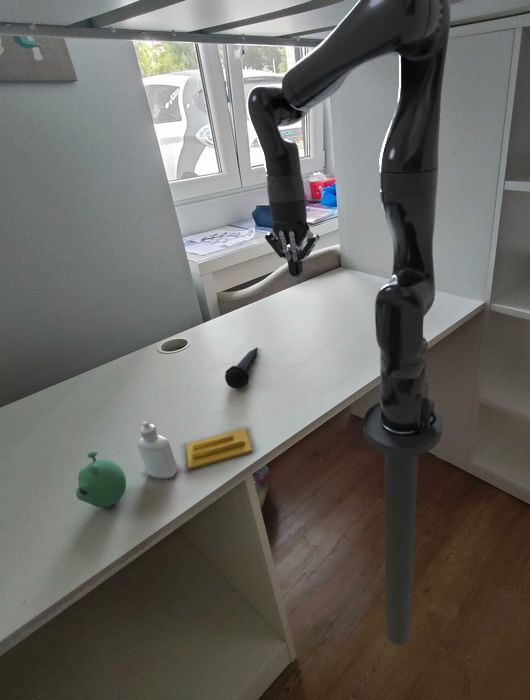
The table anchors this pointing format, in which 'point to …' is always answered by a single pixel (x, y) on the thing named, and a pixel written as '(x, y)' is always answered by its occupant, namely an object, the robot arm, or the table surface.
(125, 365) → the table surface
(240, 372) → the microphone
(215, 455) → the soap dish
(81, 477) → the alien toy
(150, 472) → the eye dropper bottle
